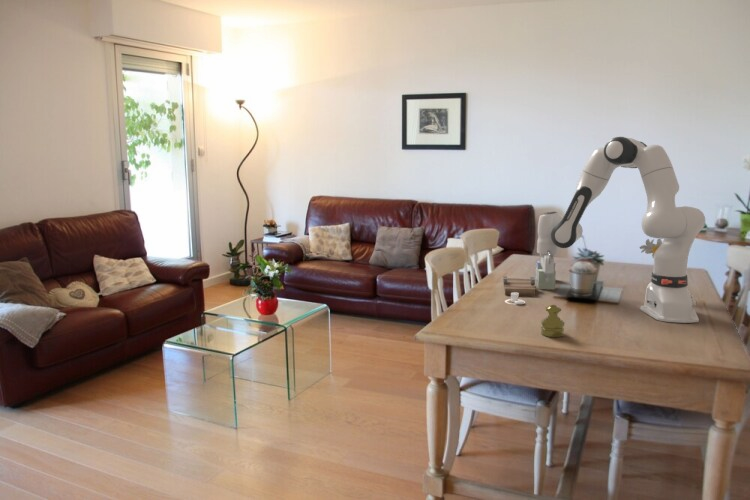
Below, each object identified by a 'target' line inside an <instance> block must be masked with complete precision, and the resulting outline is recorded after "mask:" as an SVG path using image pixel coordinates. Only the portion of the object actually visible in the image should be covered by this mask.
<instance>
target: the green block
mask: <svg viewBox="0 0 750 500" xmlns="http://www.w3.org/2000/svg"><path fill="white" fill-rule="evenodd" d="M537 289H538V290H556V269H555V270H554V273H553V275H550V280H549V282H545V273H544V271H543V269H538V281H537Z"/></svg>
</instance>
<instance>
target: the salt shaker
mask: <svg viewBox="0 0 750 500" xmlns="http://www.w3.org/2000/svg"><path fill="white" fill-rule="evenodd" d="M545 310H546V312H547V313H548V315H547V316H546V317H545V318H543V319H542V320H541V327H540V328H541V329H540V331H541V332H540V333H541V335H542V336H545V337H549V338H560V337H563V336H564V334H565V328H564V326H565V321H564V320H563V319H561V318H560V317H559V316H558V314H559V313H561V311H562V308H561V307H560V306H557V305H555V304H551V305H548V306H546V307H545Z"/></svg>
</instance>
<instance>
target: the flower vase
mask: <svg viewBox="0 0 750 500" xmlns="http://www.w3.org/2000/svg"><path fill="white" fill-rule="evenodd" d="M654 241H655V238H653V239H651V241H650V239H649V238H646V241H645V244H644V245H643V244H642V245H641V246H639V249H640V250H641V254H642V253H644V252H645V254H646V255H651V254H652V255H651V257H652V258H653V259H654V254H655V252H656V250H657V249H658V248H659V247H660V246H661V245H662V243H663V241H662V239H659V238H657V240H656V243H654ZM651 283H652V282H651V281H650V282H649V283H648V285H647V286H646V288H647V287H649V286H650V285H651Z"/></svg>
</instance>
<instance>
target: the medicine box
mask: <svg viewBox="0 0 750 500" xmlns="http://www.w3.org/2000/svg"><path fill="white" fill-rule="evenodd" d="M535 264H536V265H535V281H536V282H538V269H543V268H542V266H541V263H540V260H536V263H535ZM554 270H555V271H556V263H555V262H554Z"/></svg>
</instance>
